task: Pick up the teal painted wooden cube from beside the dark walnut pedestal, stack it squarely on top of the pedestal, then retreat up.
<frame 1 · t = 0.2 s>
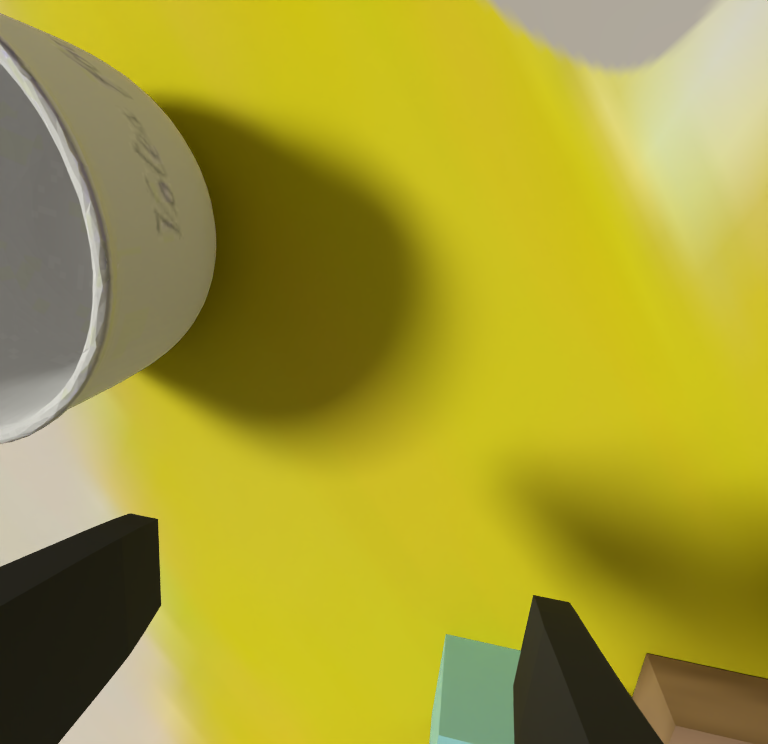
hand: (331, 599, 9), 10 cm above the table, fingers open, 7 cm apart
teal cube: (490, 685, 21), on the table
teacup: (89, 207, 19), on the table
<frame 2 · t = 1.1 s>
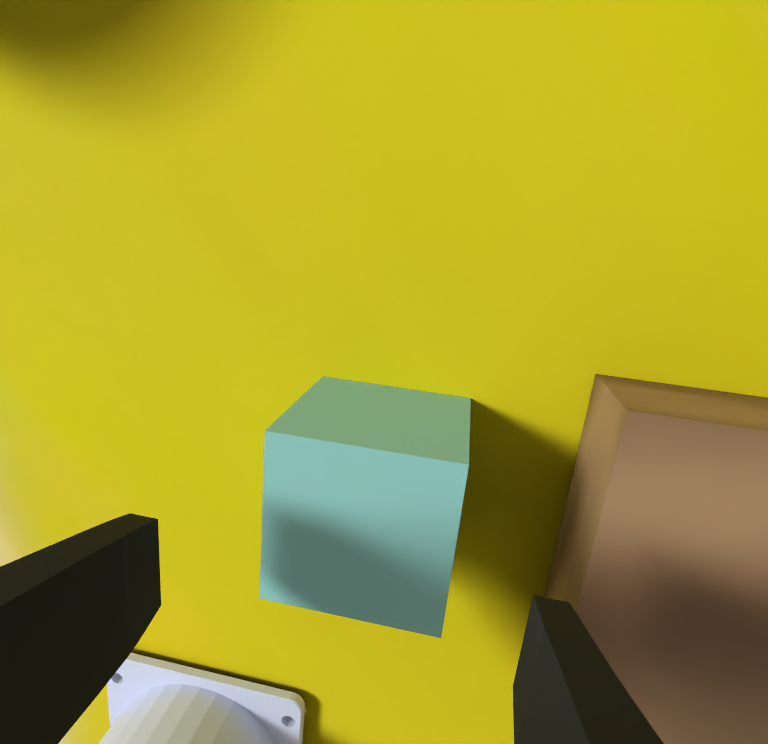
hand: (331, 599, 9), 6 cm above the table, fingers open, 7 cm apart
teal cube: (388, 454, 16), on the table
walnut base: (750, 580, 14), on the table
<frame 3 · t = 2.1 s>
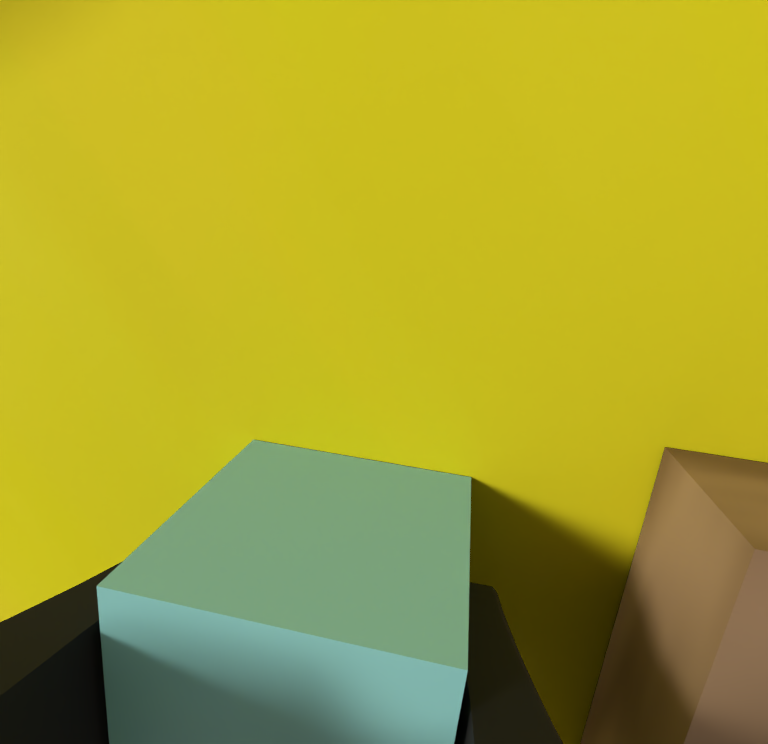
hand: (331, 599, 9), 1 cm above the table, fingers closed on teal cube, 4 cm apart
teal cube: (350, 552, 11), on the table, touching gripper
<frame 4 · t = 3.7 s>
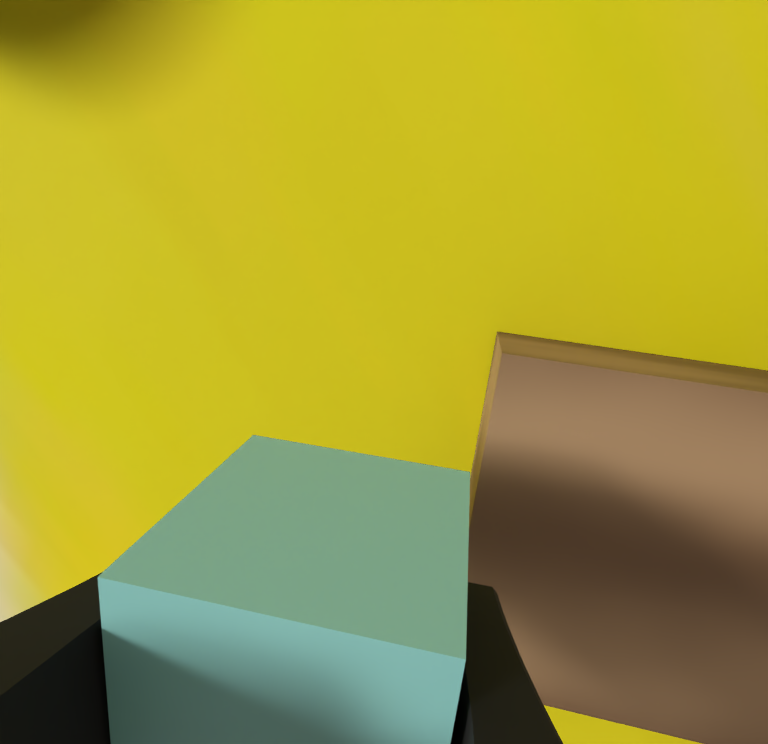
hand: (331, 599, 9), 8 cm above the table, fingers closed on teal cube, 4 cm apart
teal cube: (349, 547, 11), point 7 cm above the table, touching gripper
walnut base: (633, 515, 17), on the table
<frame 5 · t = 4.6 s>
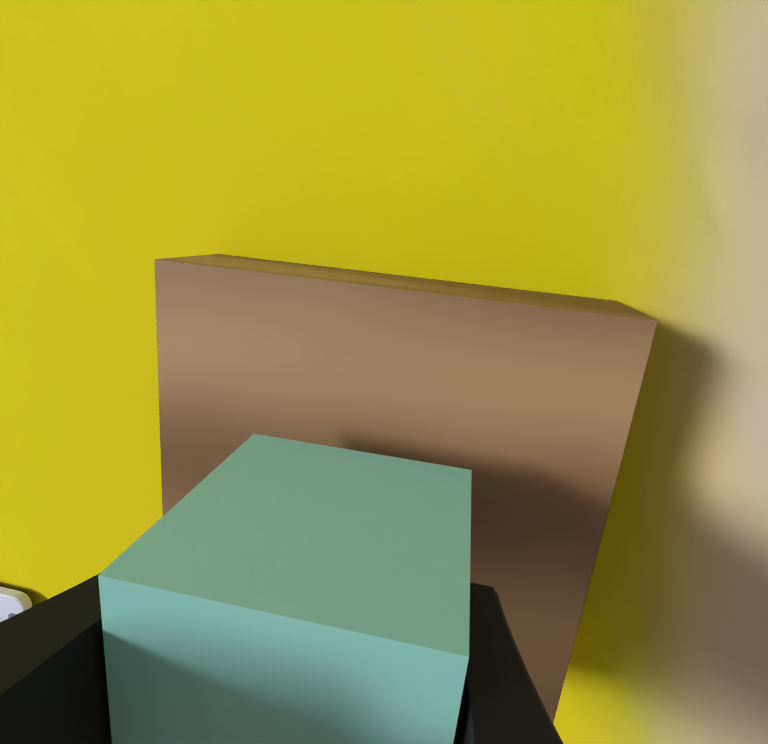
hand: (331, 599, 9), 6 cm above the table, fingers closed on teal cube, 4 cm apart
teal cube: (350, 546, 11), point 5 cm above the table, touching gripper
walnut base: (386, 458, 15), on the table
when the fingers open (5 cm above the table, at t = 5.2 s): teal cube stays where it is, resting on walnut base.
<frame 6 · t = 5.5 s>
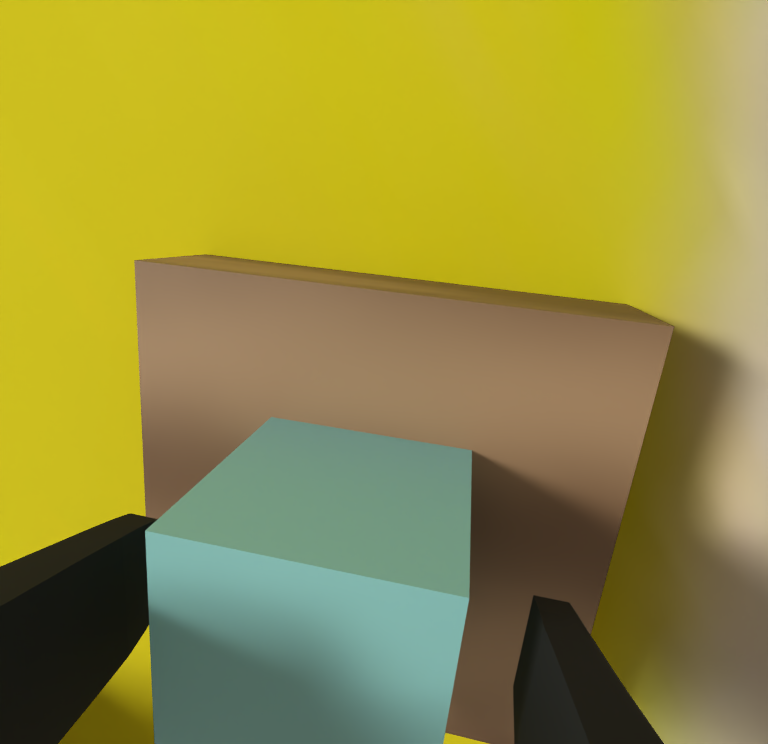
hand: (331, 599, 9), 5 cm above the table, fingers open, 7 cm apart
teal cube: (359, 522, 12), point 3 cm above the table, touching walnut base
walnut base: (383, 469, 14), on the table
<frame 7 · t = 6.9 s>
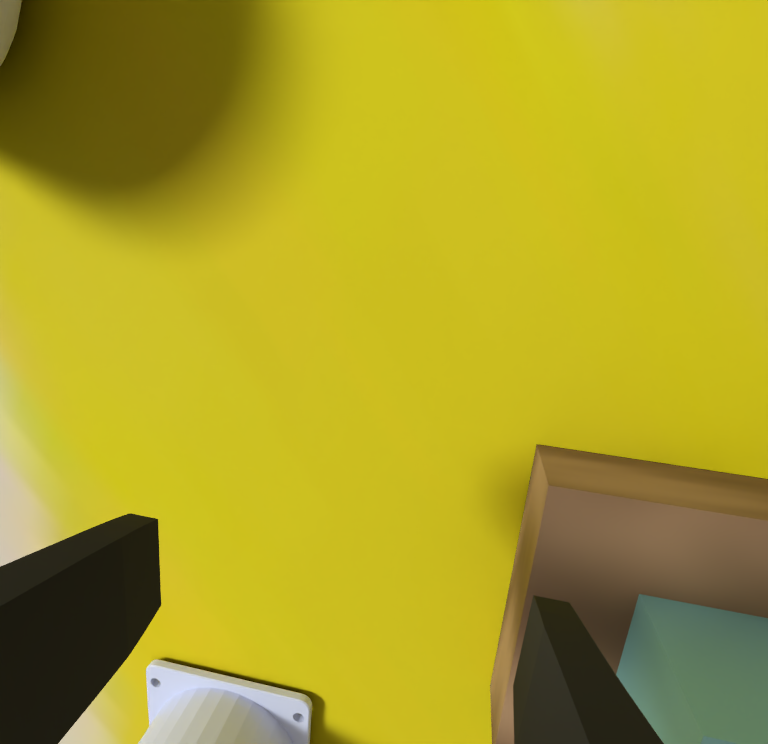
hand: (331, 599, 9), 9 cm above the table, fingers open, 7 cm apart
teal cube: (698, 668, 15), point 3 cm above the table, touching walnut base
walnut base: (663, 603, 18), on the table
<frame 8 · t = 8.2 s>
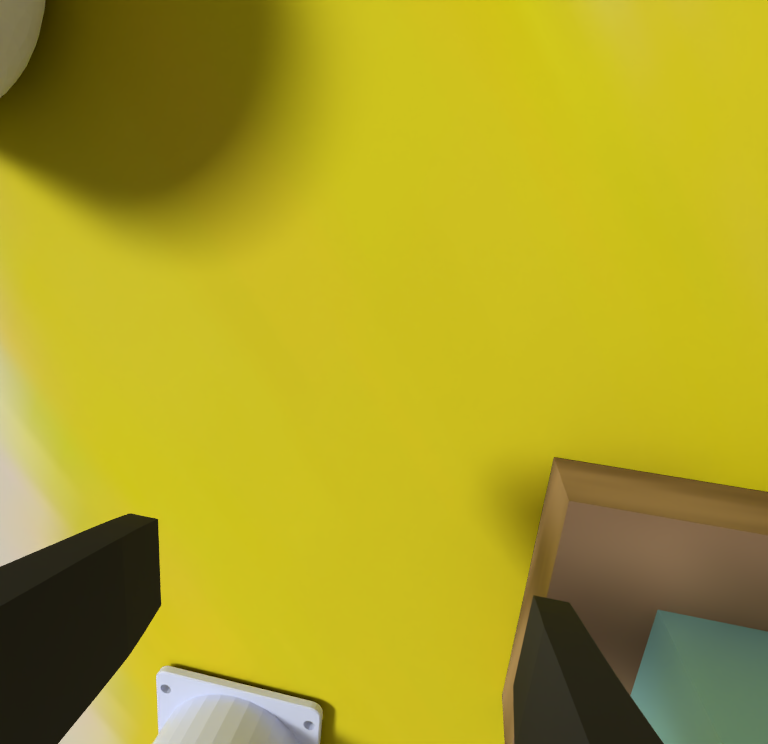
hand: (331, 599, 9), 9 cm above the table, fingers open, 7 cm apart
teal cube: (715, 683, 15), point 3 cm above the table, touching walnut base
walnut base: (677, 616, 18), on the table
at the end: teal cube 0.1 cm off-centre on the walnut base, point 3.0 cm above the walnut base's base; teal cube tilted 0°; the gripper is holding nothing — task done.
